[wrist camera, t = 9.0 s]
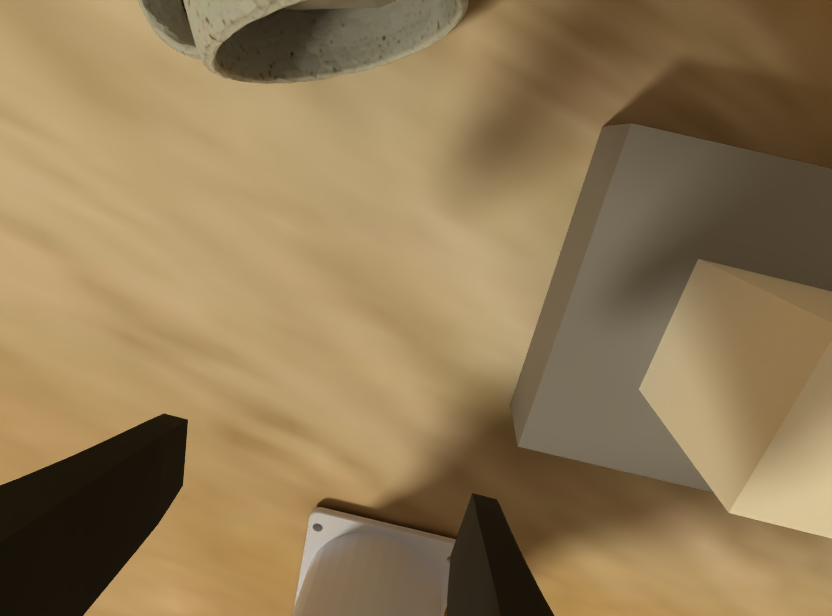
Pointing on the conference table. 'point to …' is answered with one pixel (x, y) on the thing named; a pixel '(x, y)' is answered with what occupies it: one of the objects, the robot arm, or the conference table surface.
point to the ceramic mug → (300, 34)
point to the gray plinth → (655, 284)
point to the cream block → (751, 393)
